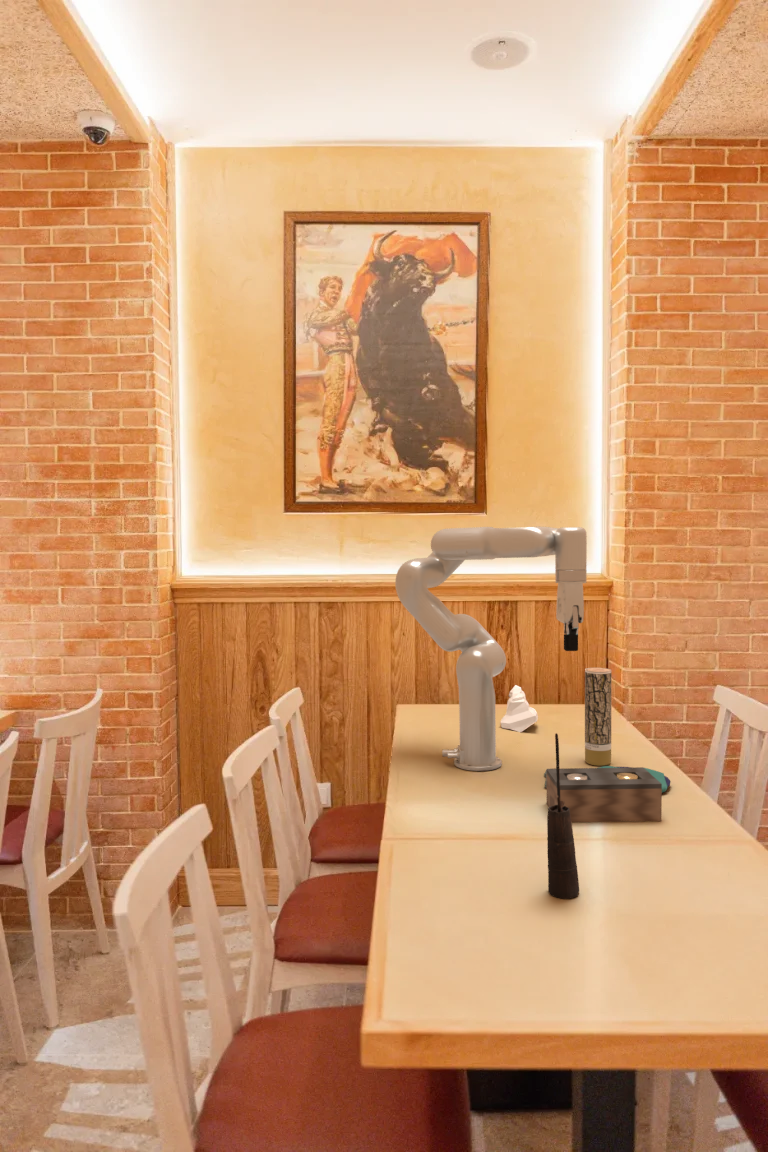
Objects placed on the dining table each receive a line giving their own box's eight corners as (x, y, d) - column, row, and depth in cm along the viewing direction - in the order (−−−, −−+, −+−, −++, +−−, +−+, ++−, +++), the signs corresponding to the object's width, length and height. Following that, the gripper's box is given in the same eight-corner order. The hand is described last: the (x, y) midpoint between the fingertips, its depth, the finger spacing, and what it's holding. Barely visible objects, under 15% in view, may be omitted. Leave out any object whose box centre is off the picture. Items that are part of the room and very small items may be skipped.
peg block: (558, 822, 171) (558, 785, 171) (546, 803, 183) (546, 768, 183) (661, 820, 171) (661, 783, 171) (643, 801, 183) (643, 767, 183)
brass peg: (620, 810, 175) (620, 779, 175) (614, 803, 179) (614, 772, 179) (640, 810, 175) (640, 778, 175) (633, 803, 179) (634, 772, 179)
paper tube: (605, 768, 209) (605, 673, 208) (580, 763, 213) (580, 670, 212) (615, 762, 215) (615, 669, 213) (590, 758, 219) (591, 666, 218)
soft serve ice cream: (499, 737, 248) (488, 692, 250) (506, 729, 262) (496, 687, 264) (539, 729, 245) (527, 683, 246) (544, 722, 259) (532, 679, 260)
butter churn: (551, 873, 146) (551, 720, 144) (601, 887, 140) (601, 728, 138) (526, 891, 139) (525, 730, 137) (577, 907, 133) (577, 739, 131)
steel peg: (569, 811, 175) (569, 779, 175) (564, 804, 179) (564, 773, 179) (589, 811, 175) (589, 779, 175) (584, 804, 179) (584, 773, 179)
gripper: (549, 575, 207) (549, 646, 208) (562, 578, 192) (562, 655, 193) (578, 575, 207) (578, 646, 208) (593, 578, 192) (593, 654, 193)
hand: (570, 650), depth 200 cm, fingers closed
